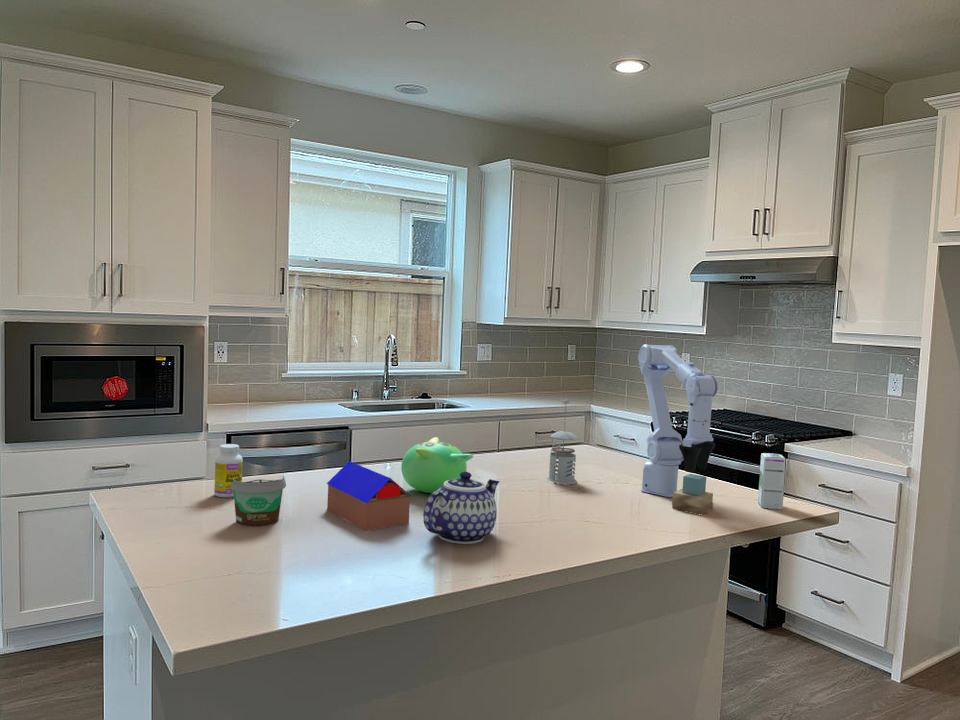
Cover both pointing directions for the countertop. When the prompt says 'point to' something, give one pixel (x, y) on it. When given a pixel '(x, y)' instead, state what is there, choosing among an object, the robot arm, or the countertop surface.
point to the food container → (257, 501)
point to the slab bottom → (692, 508)
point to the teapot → (462, 510)
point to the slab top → (692, 499)
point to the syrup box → (771, 481)
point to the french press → (562, 458)
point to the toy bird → (433, 465)
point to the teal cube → (694, 484)
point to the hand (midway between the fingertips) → (695, 470)
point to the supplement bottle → (227, 470)
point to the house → (367, 498)
